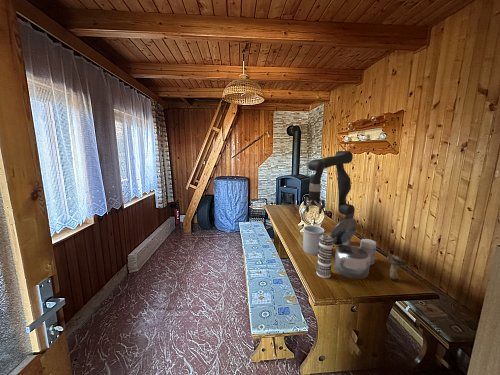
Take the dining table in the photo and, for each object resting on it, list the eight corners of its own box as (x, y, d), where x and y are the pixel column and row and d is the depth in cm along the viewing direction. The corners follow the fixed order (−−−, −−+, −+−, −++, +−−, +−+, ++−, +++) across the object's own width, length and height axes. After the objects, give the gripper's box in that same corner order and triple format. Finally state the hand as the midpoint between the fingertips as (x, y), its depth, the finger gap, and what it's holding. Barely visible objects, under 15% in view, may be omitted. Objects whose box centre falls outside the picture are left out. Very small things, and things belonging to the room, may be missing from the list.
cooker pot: (348, 258, 152) (350, 242, 150) (375, 274, 134) (378, 256, 132) (326, 264, 144) (328, 247, 142) (352, 282, 126) (354, 263, 123)
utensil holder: (323, 256, 155) (325, 233, 151) (302, 254, 158) (303, 231, 154) (321, 247, 169) (323, 226, 166) (301, 245, 172) (303, 224, 168)
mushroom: (380, 275, 133) (383, 252, 130) (393, 275, 133) (397, 252, 130) (391, 285, 123) (395, 261, 120) (406, 284, 124) (410, 260, 121)
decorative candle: (319, 268, 140) (321, 231, 135) (333, 273, 134) (337, 235, 129) (313, 274, 133) (316, 236, 128) (328, 280, 127) (331, 240, 122)
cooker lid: (351, 242, 150) (347, 239, 153) (362, 213, 140) (358, 210, 143) (327, 247, 142) (324, 244, 144) (338, 217, 132) (334, 214, 134)
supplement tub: (375, 266, 143) (378, 245, 140) (359, 263, 146) (362, 243, 143) (372, 259, 152) (374, 239, 149) (357, 257, 155) (359, 237, 152)
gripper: (327, 190, 145) (325, 213, 148) (307, 187, 153) (306, 209, 156) (323, 192, 139) (321, 216, 142) (302, 189, 147) (301, 212, 151)
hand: (313, 212), depth 149 cm, fingers open, 8 cm apart
